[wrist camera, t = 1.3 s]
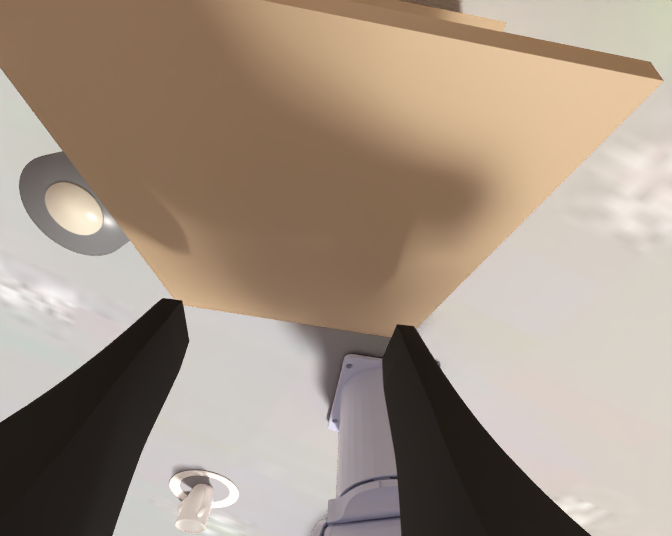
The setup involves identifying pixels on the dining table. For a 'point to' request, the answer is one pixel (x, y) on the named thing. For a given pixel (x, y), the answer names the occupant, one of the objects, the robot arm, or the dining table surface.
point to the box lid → (311, 142)
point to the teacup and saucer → (199, 500)
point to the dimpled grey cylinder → (68, 207)
